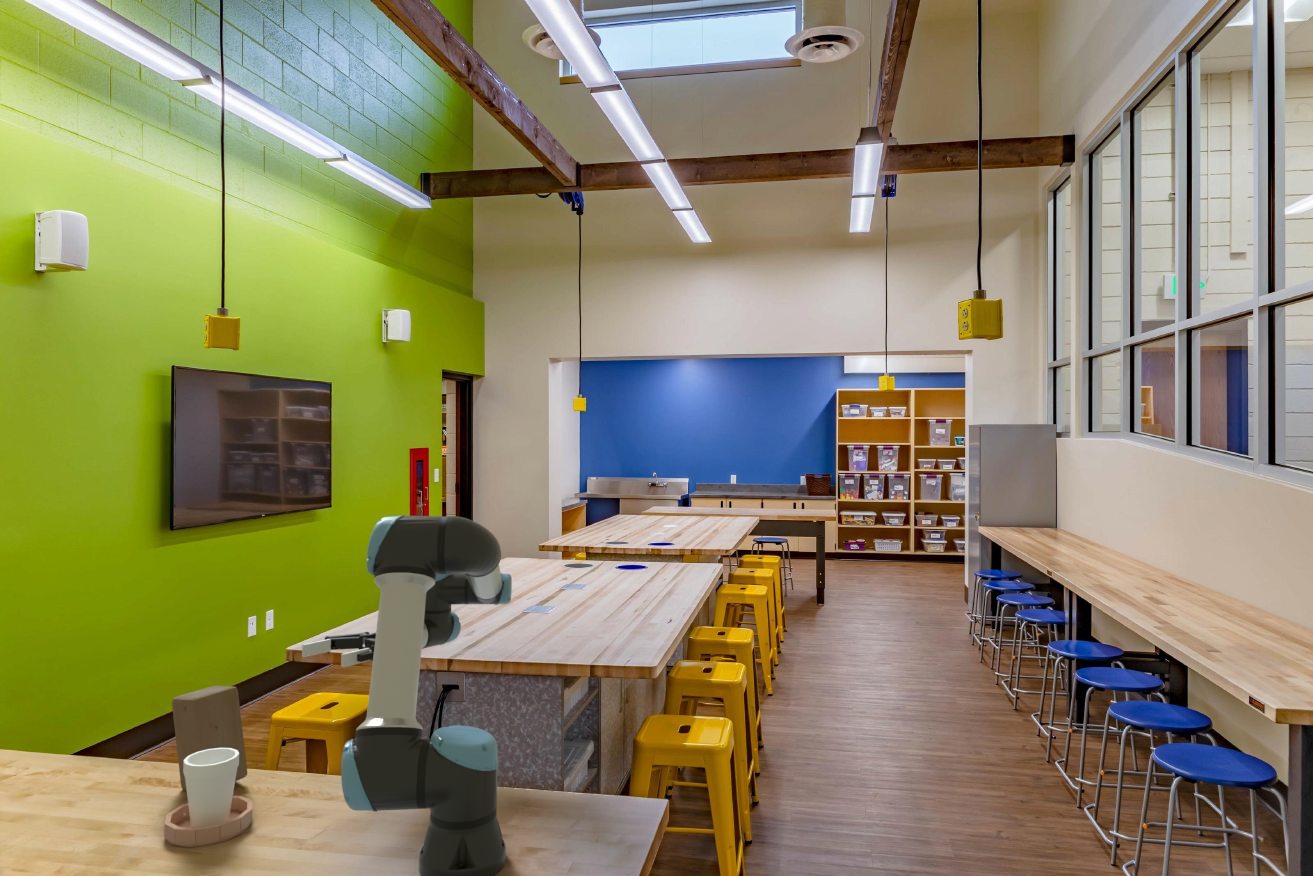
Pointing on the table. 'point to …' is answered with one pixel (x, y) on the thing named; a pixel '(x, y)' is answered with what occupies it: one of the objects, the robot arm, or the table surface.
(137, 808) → the table surface
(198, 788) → the foam cup
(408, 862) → the table surface
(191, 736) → the wooden block
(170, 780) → the table surface
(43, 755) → the table surface
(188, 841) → the bowl
